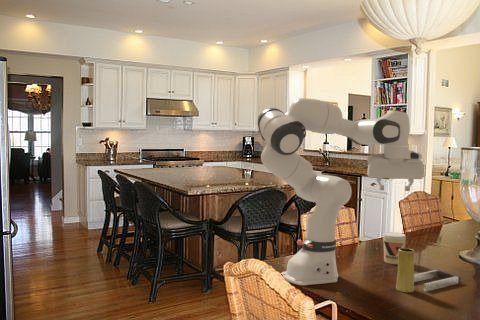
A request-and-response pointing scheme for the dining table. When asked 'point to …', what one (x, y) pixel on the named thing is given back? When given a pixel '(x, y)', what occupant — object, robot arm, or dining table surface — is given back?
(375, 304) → the dining table surface
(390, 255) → the coffee cup
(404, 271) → the vase
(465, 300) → the dining table surface
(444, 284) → the rail board
